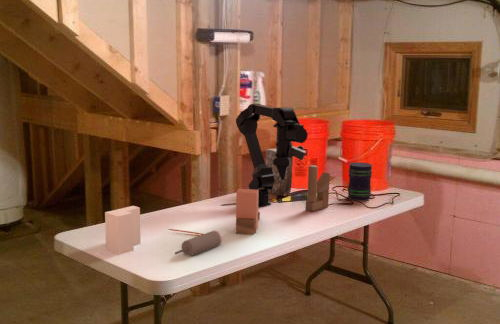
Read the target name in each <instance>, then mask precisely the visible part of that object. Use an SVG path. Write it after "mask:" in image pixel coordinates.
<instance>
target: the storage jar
mask: <svg viewBox="0 0 500 324" xmlns="http://www.w3.org/2000/svg"><path fill="white" fill-rule="evenodd" d="M348 167H349V168H348V177H349V179H348V185H347V199H349V200H353V201H360V202H361V201H365V202H366V201H369V200H371V194H372V190H371V189H372V186H371V179H372V176H373V175H372V174H373V171H372V170H373V168H372V167H373V165H372V164H371V163H370V162H369V163H368V162H357V161H356V162H350V163H349V164H348Z"/></svg>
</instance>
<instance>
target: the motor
mask: <svg viewBox="0 0 500 324" xmlns="http://www.w3.org/2000/svg"><path fill="white" fill-rule="evenodd" d="M167 230H168V231H171V232H172V231H173V232H177V234H178V235H179V234H180V235H184V233H185V235H188V236H194V237H193V238H188V239H187V240H184V241H183V242H182V244H181V249H180V250H178V251H175V252H174V255H178V254H180V253H183V254H184V255H185V256H187V257H193V256H196V255H198V254H200V253H203V252H206V251H208V250H210V249H213V248H215V247H218V246H220V245H221V244H222V241H223V238H222V237H223V236H222V234H221V233H220V232H219V231H218V230H211V231H209V232H206V233H202V232H201V233H200V232H196V231H195V232H194V231H188V230H187V231H186V230H182V229H181V230H180V229H173V228H168V229H167ZM181 232H182V233H181Z"/></svg>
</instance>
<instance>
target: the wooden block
mask: <svg viewBox="0 0 500 324" xmlns="http://www.w3.org/2000/svg"><path fill="white" fill-rule="evenodd" d="M318 170H319V169H318V166H317V165H309V166H308V174H307V179H308V180H307V201H306V200H305V211H309V212H315V211H319V210H322V209H326V208H328V207H329V196H330V177H331V176H330V175H331V173H329V172H322V173H321V175H320V176H319V178H318V172H319V171H318Z"/></svg>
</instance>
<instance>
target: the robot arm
mask: <svg viewBox="0 0 500 324" xmlns="http://www.w3.org/2000/svg"><path fill="white" fill-rule="evenodd" d="M296 114H297V113H296V112H295V111H294V107H291V106H286V107H275V106H269V105H265V104H262V103H251V104H249V105H248V106H247V108H245V109H244V110H242V111H241V112H240V113H239V114H238V115H237V117H236V118H235V123H236V127H237V128H238V131H239V132H240V134H242V135H243V136H244V140H245V143H246V146H247V149H248V153H249V156H250V159H251V163H252V165H253V171H252V174H251V175H252V180H251V181H250V182H249V183H248V189H253V190H259V197H258V207H264V206H269V205H270V206H271V205H272V203H271V202H269V197H270V195H269V193H268V190H270V189H272V188H273V184H274V181H275V179H274V176H275V175H274V174H273V170H272V168H271V167H267V166H266V160H265V158H264V155H263V152H262V148H261V145H260V141H259V138H258V135H257V131H258V126H259V125H258V122H259V120H260V119H261V116H263V117H268V118H271V119H272V121H274V122H275V124H274V125H272V126H273V128H276V142H275V146H276V148H275V149H276V157H275V158H274V159H273V165H276V167H277V170H278V172H279V175H280V177H281V180H284V179H285V175H286V170H287V167H288V166H290V164H291V162H292V161H290V158H291V159H293V160H294V158H297V159H298V160H301V161H303V160H304V158H305V155H306V153H307V151H306V150H304V146H303V145H299V146H293V143H299V144H304V143H305V142H306V140H307V139H308V136H309V135H308V132H307V129H305V128H304V124H300V121H299V119H298V116H297V115H296Z"/></svg>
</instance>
